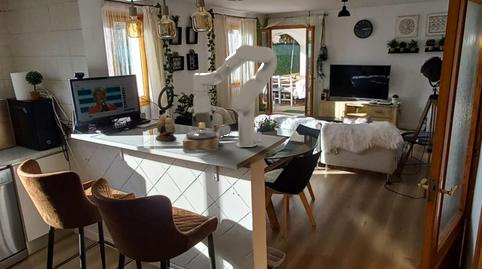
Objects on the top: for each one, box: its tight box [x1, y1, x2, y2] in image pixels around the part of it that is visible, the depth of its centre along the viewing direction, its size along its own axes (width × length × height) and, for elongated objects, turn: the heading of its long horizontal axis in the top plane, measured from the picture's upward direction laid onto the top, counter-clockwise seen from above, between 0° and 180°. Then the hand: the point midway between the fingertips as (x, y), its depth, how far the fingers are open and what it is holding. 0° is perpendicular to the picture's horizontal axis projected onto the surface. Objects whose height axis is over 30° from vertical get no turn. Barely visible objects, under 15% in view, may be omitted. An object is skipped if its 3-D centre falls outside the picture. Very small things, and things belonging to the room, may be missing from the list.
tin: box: [213, 123, 232, 137], centre depth 233 cm, size 15×3×8 cm, turn 141°
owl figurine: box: [155, 113, 178, 143], centre depth 228 cm, size 18×12×17 cm, turn 47°
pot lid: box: [185, 122, 217, 139], centre depth 208 cm, size 18×18×6 cm
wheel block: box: [182, 133, 220, 152], centre depth 210 cm, size 20×20×6 cm
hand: (203, 121), depth 214 cm, fingers open, 9 cm apart
